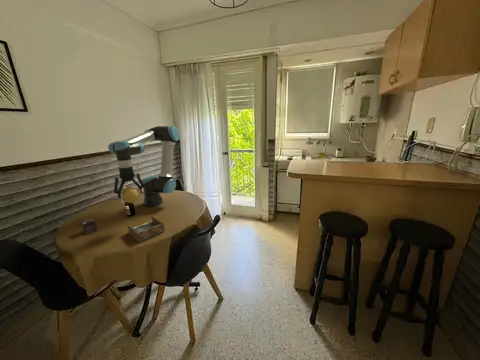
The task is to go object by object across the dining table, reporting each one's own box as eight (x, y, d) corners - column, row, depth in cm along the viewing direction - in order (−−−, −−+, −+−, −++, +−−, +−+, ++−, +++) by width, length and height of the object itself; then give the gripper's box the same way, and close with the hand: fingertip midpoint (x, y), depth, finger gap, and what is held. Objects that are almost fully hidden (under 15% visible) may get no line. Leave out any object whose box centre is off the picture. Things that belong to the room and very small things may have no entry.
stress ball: (121, 205, 127) (122, 199, 120) (120, 191, 131) (121, 184, 124) (138, 204, 133) (140, 198, 126) (137, 190, 137) (139, 184, 129)
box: (94, 227, 134) (91, 217, 131) (97, 230, 130) (94, 220, 128) (83, 231, 129) (80, 221, 127) (86, 234, 125) (83, 224, 123)
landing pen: (153, 223, 138) (152, 215, 136) (164, 231, 127) (163, 223, 125) (128, 232, 127) (127, 224, 125) (138, 242, 116) (137, 234, 114)
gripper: (142, 163, 133) (147, 194, 140) (102, 168, 118) (110, 204, 124) (146, 164, 128) (151, 197, 134) (105, 170, 113) (113, 207, 119)
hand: (131, 200), depth 129 cm, fingers closed on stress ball, 10 cm apart
